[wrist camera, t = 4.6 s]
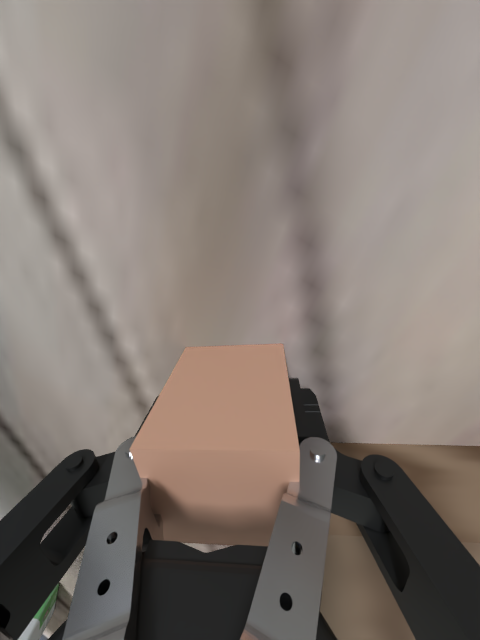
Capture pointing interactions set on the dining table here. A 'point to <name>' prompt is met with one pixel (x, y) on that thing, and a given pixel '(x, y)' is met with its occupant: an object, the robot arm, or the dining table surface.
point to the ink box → (40, 618)
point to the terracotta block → (221, 445)
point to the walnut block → (356, 558)
